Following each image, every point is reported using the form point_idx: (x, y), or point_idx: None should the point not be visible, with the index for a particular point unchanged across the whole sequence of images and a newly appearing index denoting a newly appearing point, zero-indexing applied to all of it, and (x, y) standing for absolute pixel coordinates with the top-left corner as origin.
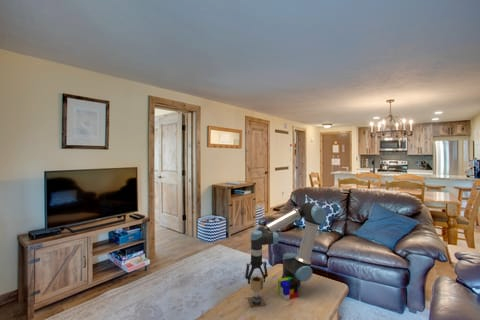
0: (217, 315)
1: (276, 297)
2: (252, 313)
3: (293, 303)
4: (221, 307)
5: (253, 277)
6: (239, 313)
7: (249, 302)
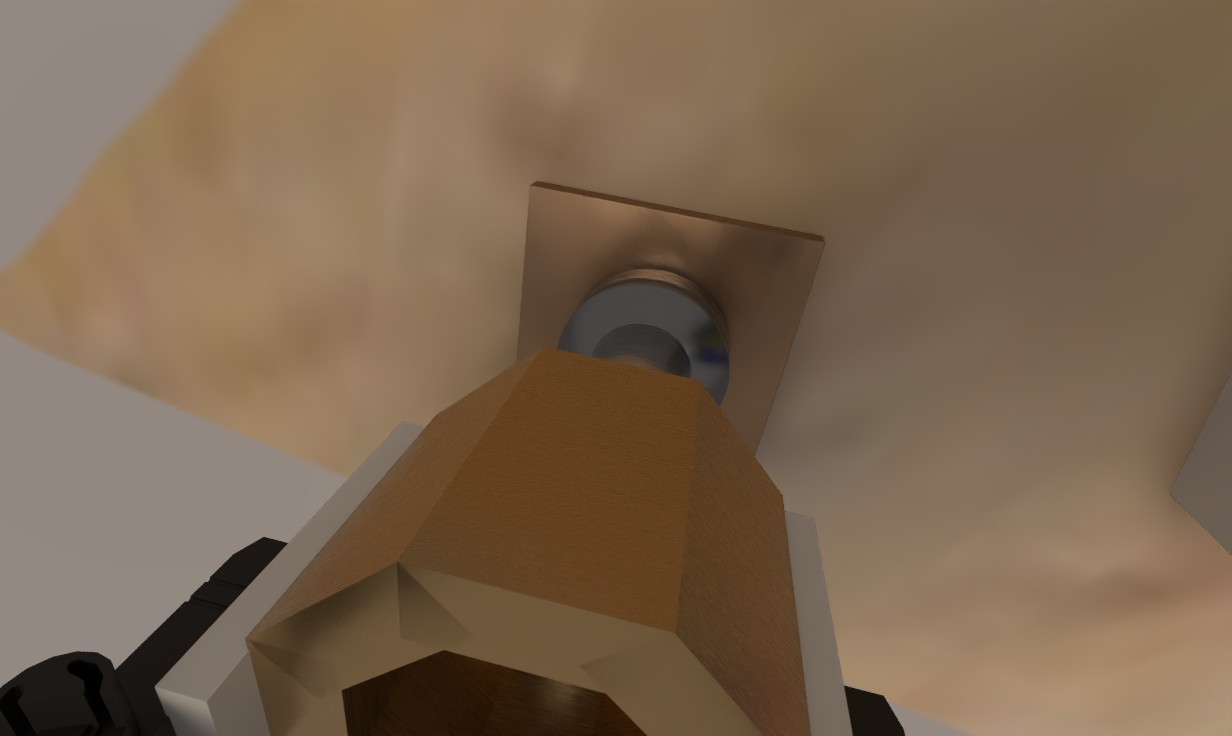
0: (84, 369)
1: (1097, 361)
2: None
3: (1205, 600)
4: (102, 236)
5: (421, 631)
6: (343, 446)
7: (520, 324)
